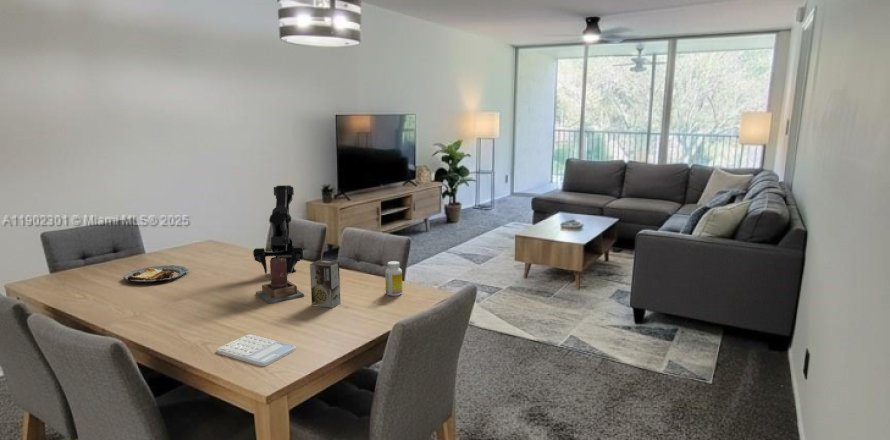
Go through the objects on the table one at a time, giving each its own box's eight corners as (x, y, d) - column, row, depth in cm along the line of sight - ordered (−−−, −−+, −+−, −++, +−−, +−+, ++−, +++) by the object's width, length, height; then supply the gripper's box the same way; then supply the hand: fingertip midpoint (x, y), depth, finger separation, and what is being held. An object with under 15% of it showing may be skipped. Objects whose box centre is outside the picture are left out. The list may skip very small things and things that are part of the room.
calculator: (249, 338, 172) (249, 332, 172) (297, 350, 163) (297, 345, 163) (215, 354, 160) (214, 348, 160) (264, 368, 152) (264, 362, 151)
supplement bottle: (405, 292, 217) (405, 261, 214) (397, 297, 211) (396, 265, 208) (390, 290, 219) (390, 259, 217) (382, 294, 213) (382, 263, 211)
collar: (289, 287, 221) (289, 278, 220) (304, 296, 210) (303, 286, 210) (255, 294, 213) (255, 284, 212) (268, 303, 202) (268, 293, 201)
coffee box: (341, 302, 204) (340, 261, 201) (332, 308, 198) (331, 266, 195) (320, 300, 207) (318, 259, 204) (310, 305, 201) (309, 263, 198)
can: (285, 289, 216) (283, 255, 213) (289, 293, 210) (288, 258, 208) (269, 291, 213) (268, 257, 210) (273, 296, 207) (272, 260, 205)
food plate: (168, 286, 221) (167, 277, 221) (112, 285, 222) (111, 277, 221) (197, 270, 246) (196, 263, 245) (146, 270, 246) (146, 262, 246)
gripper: (252, 228, 209) (249, 263, 200) (302, 227, 212) (301, 261, 204) (256, 243, 218) (254, 277, 209) (304, 241, 221) (303, 275, 213)
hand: (278, 272), depth 208 cm, fingers open, 9 cm apart
